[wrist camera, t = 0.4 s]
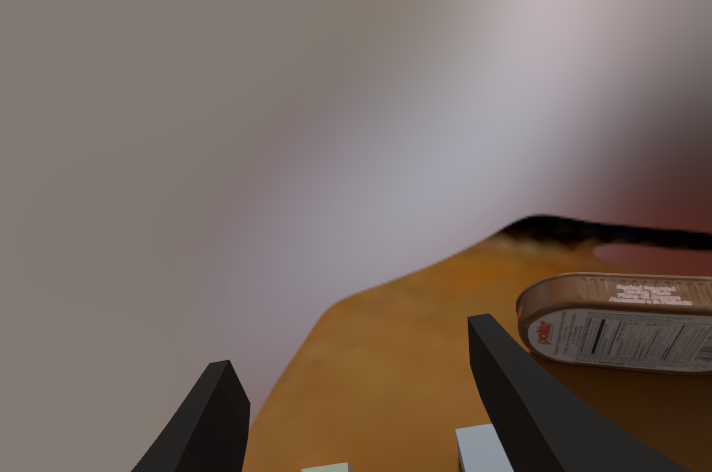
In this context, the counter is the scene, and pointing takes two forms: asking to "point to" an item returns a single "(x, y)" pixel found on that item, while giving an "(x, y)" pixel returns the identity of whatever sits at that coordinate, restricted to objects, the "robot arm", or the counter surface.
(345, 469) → the sage brick
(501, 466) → the blue brick
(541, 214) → the counter surface
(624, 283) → the tin
